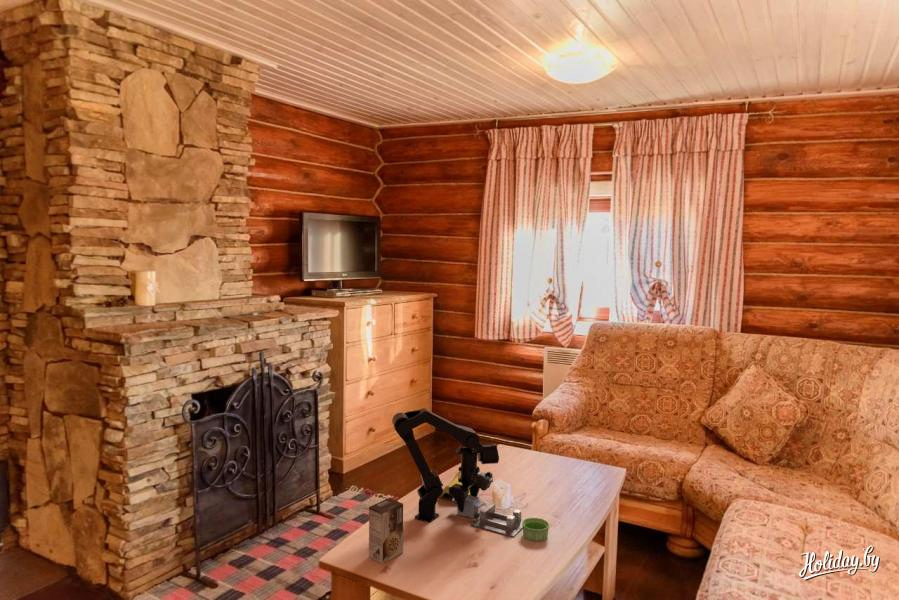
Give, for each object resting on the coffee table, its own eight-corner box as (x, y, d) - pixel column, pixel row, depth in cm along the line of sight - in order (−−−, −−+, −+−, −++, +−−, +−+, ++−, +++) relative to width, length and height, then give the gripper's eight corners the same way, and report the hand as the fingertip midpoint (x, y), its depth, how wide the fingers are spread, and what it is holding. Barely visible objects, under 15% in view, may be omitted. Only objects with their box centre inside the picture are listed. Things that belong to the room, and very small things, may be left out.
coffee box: (388, 546, 195) (389, 497, 193) (403, 553, 191) (404, 502, 189) (367, 557, 188) (368, 506, 186) (382, 564, 184) (383, 512, 182)
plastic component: (466, 498, 227) (444, 483, 230) (458, 513, 229) (436, 498, 232) (484, 475, 245) (463, 462, 248) (476, 490, 247) (455, 476, 250)
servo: (479, 519, 215) (479, 500, 214) (451, 512, 220) (452, 494, 219) (484, 515, 218) (484, 496, 217) (457, 508, 223) (457, 490, 223)
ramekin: (552, 534, 205) (553, 521, 205) (542, 545, 198) (543, 532, 197) (528, 527, 210) (528, 515, 209) (517, 538, 202) (517, 525, 202)
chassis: (513, 537, 202) (513, 524, 202) (470, 525, 210) (470, 512, 210) (529, 521, 214) (530, 508, 214) (488, 510, 222) (488, 498, 222)
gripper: (477, 477, 205) (475, 522, 207) (500, 461, 221) (499, 502, 223) (448, 471, 211) (447, 514, 212) (473, 455, 227) (472, 496, 228)
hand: (467, 507), depth 219 cm, fingers open, 9 cm apart
